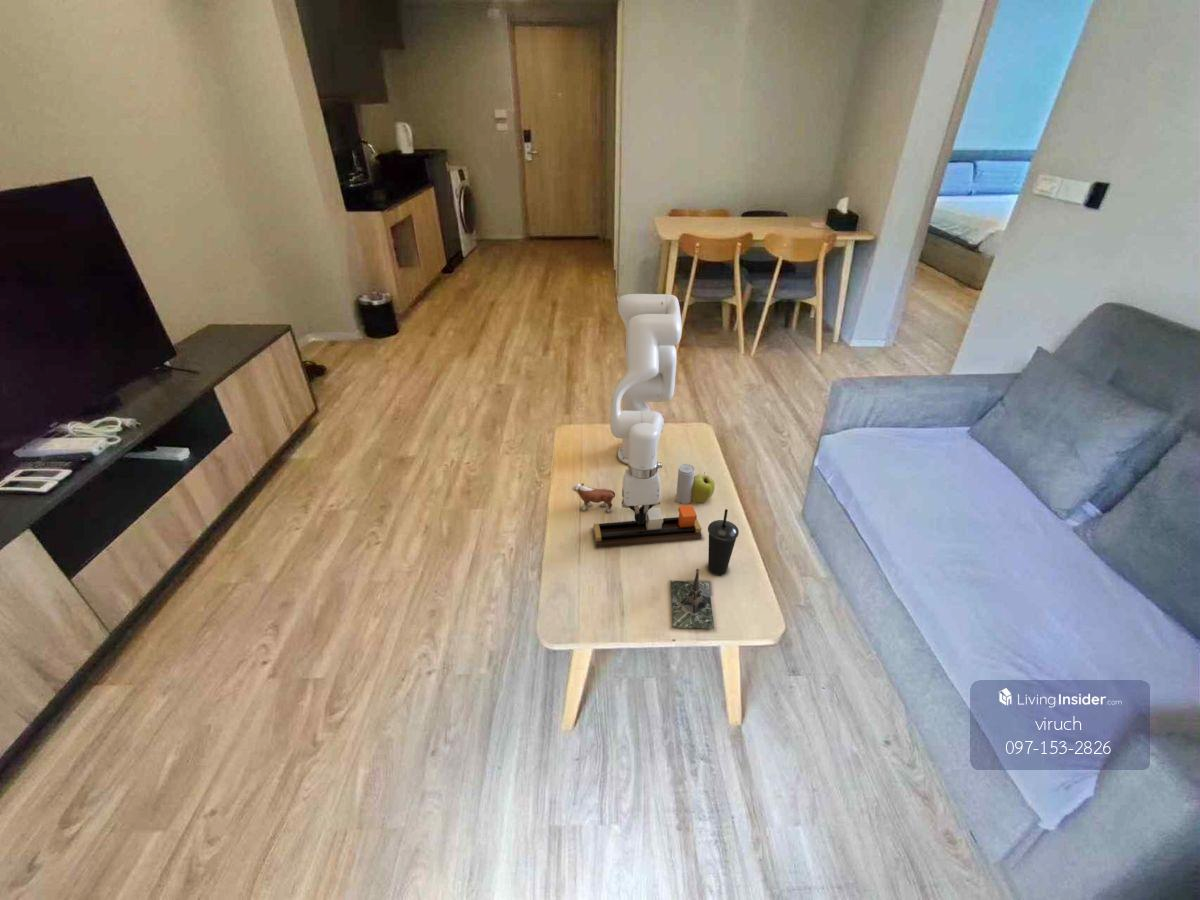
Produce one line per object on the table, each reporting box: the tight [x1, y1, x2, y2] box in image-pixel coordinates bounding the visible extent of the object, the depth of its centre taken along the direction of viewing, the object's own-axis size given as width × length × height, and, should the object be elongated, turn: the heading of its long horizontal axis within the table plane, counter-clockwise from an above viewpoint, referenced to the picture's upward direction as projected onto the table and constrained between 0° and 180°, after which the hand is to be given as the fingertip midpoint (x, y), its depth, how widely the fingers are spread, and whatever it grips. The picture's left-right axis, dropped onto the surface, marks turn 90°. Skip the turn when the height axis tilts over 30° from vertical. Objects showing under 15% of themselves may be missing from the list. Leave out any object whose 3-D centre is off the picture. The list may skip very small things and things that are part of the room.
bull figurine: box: [571, 482, 616, 513], centre depth 162 cm, size 4×13×8 cm, turn 78°
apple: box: [691, 471, 716, 504], centre depth 166 cm, size 8×8×10 cm
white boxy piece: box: [646, 507, 664, 530], centre depth 152 cm, size 5×4×6 cm
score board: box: [592, 523, 702, 549], centre depth 154 cm, size 8×30×2 cm, turn 97°
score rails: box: [593, 516, 702, 541], centre depth 153 cm, size 6×30×2 cm, turn 97°
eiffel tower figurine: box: [670, 568, 715, 629], centre depth 129 cm, size 15×10×13 cm
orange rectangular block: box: [677, 504, 698, 528], centre depth 153 cm, size 5×4×6 cm
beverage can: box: [675, 463, 695, 505], centre depth 164 cm, size 5×5×12 cm
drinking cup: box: [707, 508, 740, 576], centre depth 137 cm, size 8×8×20 cm
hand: (640, 521), depth 151 cm, fingers closed
